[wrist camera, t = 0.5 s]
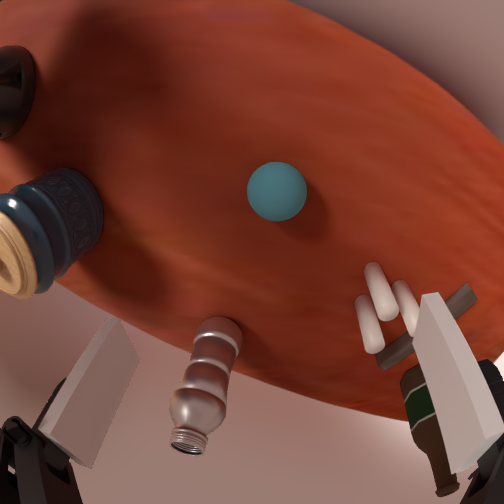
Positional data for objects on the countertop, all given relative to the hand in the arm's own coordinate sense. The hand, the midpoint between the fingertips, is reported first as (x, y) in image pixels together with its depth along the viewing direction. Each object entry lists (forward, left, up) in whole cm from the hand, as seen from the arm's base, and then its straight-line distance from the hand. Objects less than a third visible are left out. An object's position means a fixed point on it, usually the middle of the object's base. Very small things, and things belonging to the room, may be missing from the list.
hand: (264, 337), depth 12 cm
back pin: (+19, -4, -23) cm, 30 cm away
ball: (0, 0, -20) cm, 20 cm away
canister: (-20, -21, -24) cm, 38 cm away
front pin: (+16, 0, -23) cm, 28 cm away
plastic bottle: (+8, -21, -24) cm, 33 cm away
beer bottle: (+41, -7, -24) cm, 48 cm away
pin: (+21, +1, -23) cm, 31 cm away
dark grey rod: (+30, 0, -23) cm, 38 cm away
